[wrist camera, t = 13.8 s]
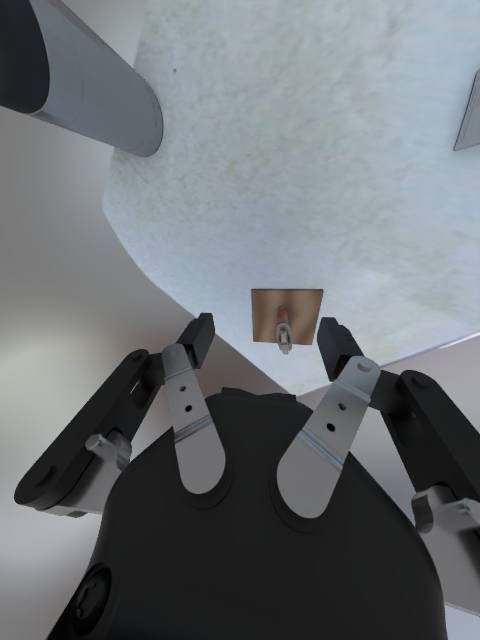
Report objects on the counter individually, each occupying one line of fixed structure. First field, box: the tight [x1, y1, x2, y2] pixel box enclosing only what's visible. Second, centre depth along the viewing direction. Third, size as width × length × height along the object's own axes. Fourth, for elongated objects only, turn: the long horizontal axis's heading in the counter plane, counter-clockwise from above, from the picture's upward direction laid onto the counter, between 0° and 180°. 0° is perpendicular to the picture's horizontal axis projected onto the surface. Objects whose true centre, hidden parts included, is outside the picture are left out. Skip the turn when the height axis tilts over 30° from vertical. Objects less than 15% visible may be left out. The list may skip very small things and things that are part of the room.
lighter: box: [276, 306, 293, 354], centre depth 39 cm, size 8×3×10 cm, turn 13°
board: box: [251, 289, 323, 345], centre depth 43 cm, size 16×16×1 cm
